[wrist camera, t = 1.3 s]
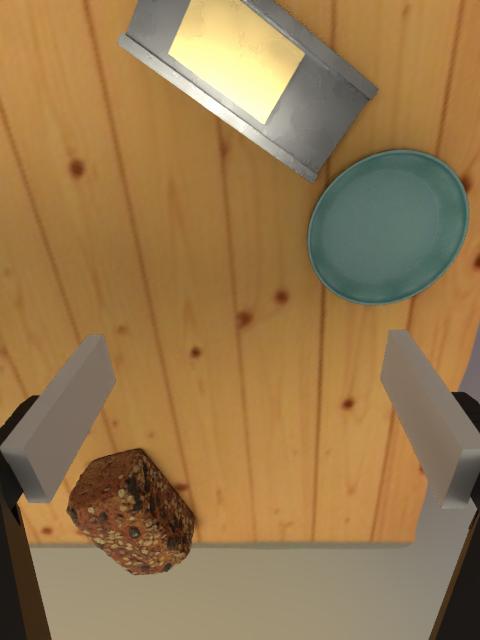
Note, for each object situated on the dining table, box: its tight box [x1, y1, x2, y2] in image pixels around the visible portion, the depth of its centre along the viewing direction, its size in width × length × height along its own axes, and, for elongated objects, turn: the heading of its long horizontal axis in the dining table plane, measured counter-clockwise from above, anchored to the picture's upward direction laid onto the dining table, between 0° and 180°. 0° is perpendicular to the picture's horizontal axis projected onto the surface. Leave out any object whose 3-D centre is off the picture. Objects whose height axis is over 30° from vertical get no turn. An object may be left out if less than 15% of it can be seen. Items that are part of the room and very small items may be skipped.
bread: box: [66, 450, 194, 575], centre depth 54 cm, size 19×11×10 cm, turn 23°
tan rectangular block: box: [168, 0, 305, 124], centre depth 26 cm, size 8×5×3 cm, turn 58°
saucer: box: [307, 150, 469, 305], centre depth 35 cm, size 15×15×3 cm
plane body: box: [117, 0, 379, 184], centre depth 28 cm, size 18×8×4 cm, turn 58°
